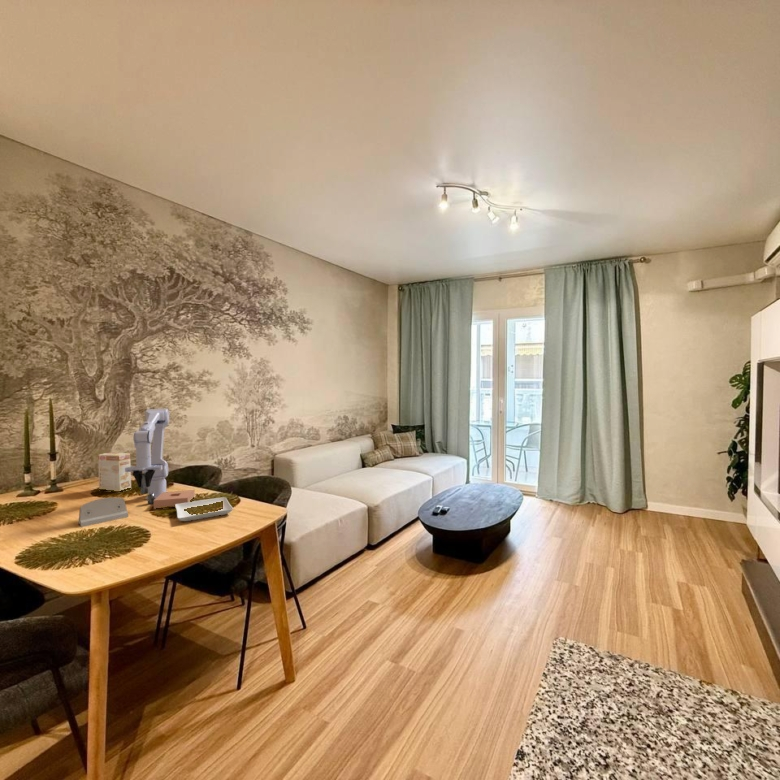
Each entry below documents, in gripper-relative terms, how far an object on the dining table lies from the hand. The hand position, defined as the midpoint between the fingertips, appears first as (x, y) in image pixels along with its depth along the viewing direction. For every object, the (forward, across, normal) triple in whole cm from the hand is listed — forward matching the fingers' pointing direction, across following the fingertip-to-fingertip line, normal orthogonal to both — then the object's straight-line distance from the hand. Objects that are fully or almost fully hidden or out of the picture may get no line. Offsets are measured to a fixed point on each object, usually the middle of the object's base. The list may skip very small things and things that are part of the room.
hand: (144, 486), depth 179 cm
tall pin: (+3, 0, 0) cm, 3 cm away
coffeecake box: (+10, -27, +40) cm, 49 cm away
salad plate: (+10, +27, -14) cm, 33 cm away
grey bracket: (+10, -12, -12) cm, 19 cm away
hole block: (+10, +11, +4) cm, 16 cm away
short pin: (+10, 0, +7) cm, 12 cm away
